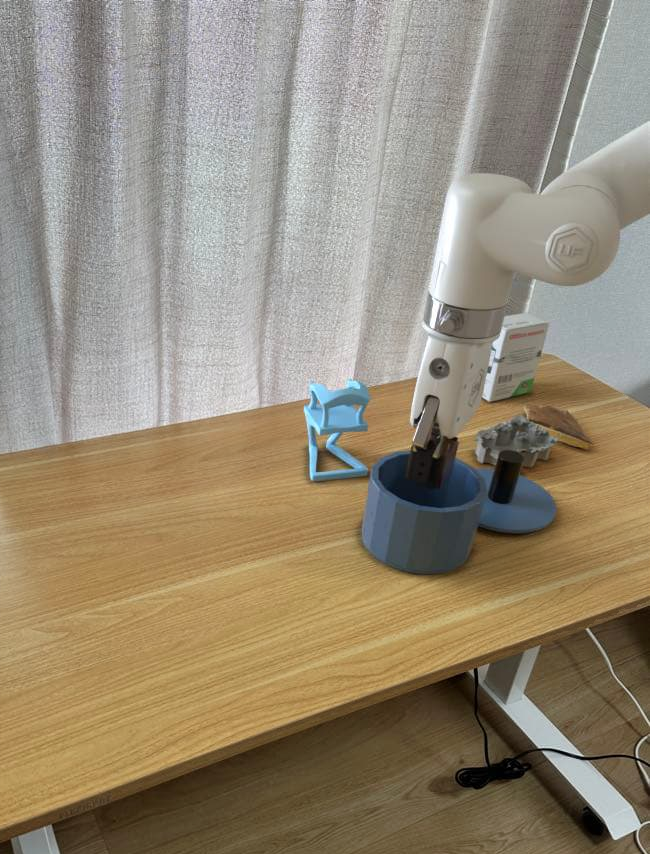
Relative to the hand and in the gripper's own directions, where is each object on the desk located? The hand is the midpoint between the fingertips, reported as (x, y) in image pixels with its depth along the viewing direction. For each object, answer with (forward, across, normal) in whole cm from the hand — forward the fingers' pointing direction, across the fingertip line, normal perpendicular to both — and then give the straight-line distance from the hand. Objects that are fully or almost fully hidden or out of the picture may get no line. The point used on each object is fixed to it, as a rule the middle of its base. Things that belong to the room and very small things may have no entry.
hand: (429, 473), depth 89 cm
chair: (+9, +10, +16) cm, 21 cm away
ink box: (+9, +45, +3) cm, 46 cm away
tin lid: (+9, +13, -6) cm, 17 cm away
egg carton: (+9, +26, -4) cm, 28 cm away
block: (0, 0, 0) cm, 0 cm away
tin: (+9, 0, 0) cm, 9 cm away
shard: (+9, +38, -8) cm, 40 cm away
